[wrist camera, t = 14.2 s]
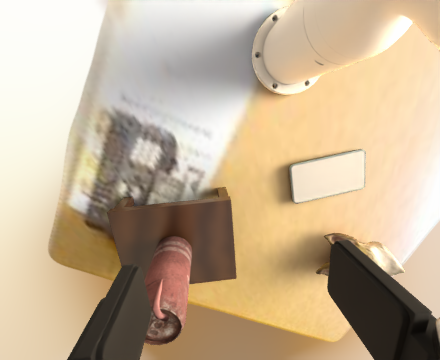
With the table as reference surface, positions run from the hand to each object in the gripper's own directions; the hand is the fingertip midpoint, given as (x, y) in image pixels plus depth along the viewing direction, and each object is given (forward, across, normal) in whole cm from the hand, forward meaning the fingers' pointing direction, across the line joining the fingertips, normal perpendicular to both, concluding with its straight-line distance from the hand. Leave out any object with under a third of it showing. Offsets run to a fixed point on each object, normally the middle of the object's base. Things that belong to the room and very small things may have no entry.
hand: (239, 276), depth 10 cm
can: (+24, +8, +14) cm, 29 cm away
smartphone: (+30, -22, +6) cm, 38 cm away
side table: (+30, +8, +14) cm, 34 cm away
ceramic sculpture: (+31, -28, +24) cm, 48 cm away
